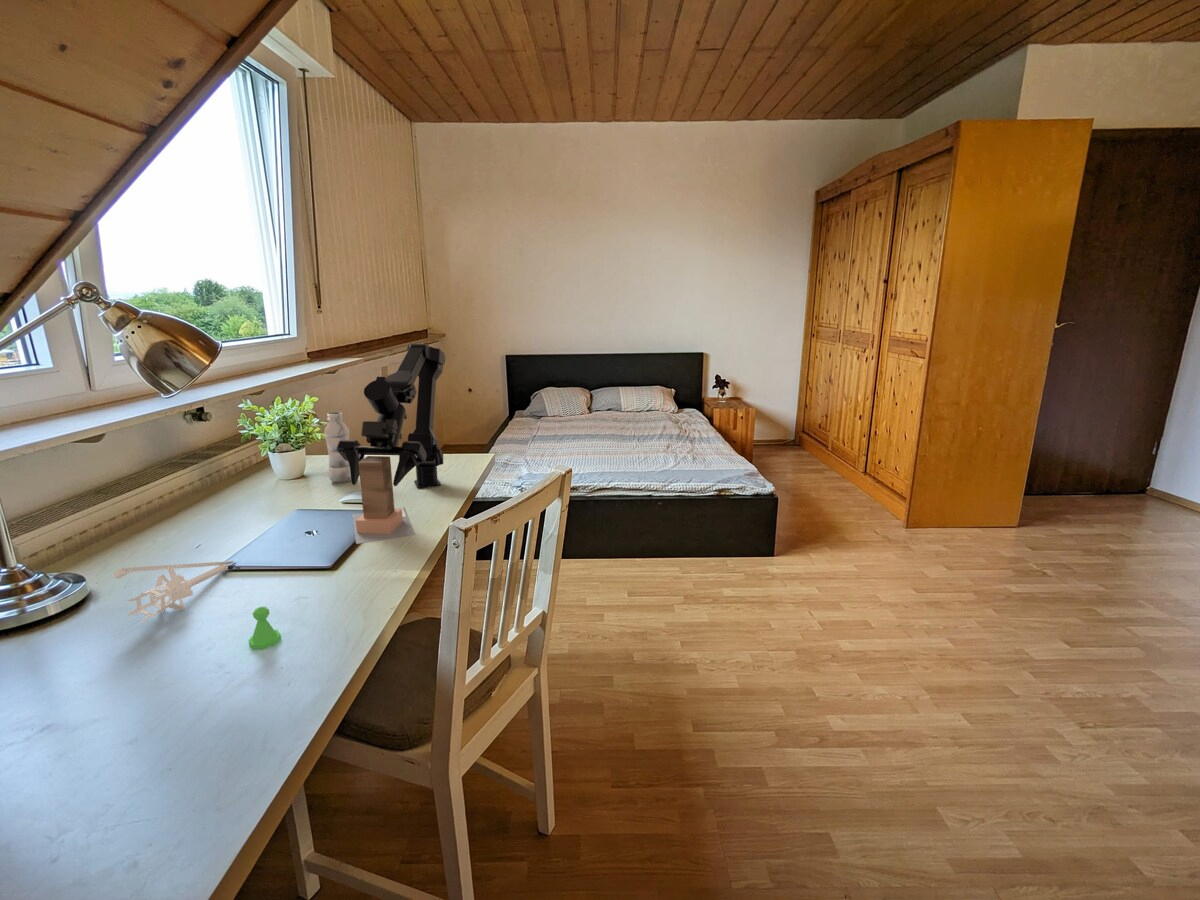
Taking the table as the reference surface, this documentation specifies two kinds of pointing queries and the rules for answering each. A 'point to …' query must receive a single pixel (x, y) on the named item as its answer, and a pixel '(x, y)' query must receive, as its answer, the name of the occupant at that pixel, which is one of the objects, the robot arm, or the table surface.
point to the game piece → (263, 631)
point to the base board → (400, 531)
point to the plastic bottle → (333, 435)
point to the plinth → (379, 523)
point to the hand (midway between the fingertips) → (373, 484)
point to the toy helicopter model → (171, 585)
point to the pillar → (376, 487)
